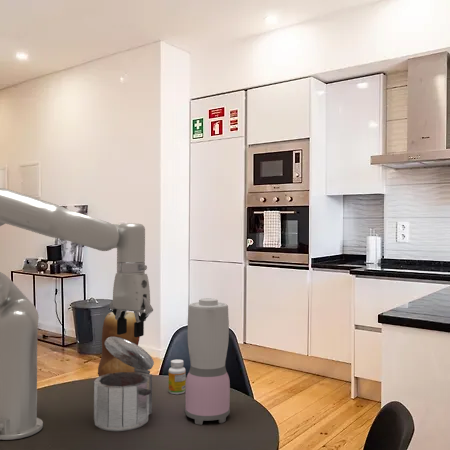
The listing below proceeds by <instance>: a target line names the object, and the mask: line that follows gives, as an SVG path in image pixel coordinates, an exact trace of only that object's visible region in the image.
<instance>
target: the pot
mask: <svg viewBox="0 0 450 450" xmlns="http://www.w3.org/2000/svg"><path fill="white" fill-rule="evenodd" d="M93 383H94V385H93V390H94V391H93V420H94V425H95V427H97V428H98V429H100V430H103V431H107V432H125V431H127V432H128V431H132V430H137V429H139V428H141V427H143V426H145V425H146V424H147V423H148V422H149V416H150V415H151V414H152V413H153V374H152V373H151V374H146V373H141V372H117V373H109V374H106V375H103V376H100V377H99V376H98V377H96V378H95V380H94V381H93Z"/></svg>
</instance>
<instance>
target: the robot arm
mask: <svg viewBox="0 0 450 450" xmlns="http://www.w3.org/2000/svg"><path fill="white" fill-rule="evenodd" d="M3 225H10V226H13V227H16V228H19V229H23V230H25V231H30V232H32V233H35V234H39V235H42V236H45V237H48V238H54V239H60V240H64V241H67V242H71V243H73V244H77V245H81V246H85V247H88V248H91V249H94V250H97V251H101V252H109V251H112V249H116V273H115V274H114V281H113V289H112V300H111V301H110V303H109V304H108V307H109V308H110V310H111V312H113V313H114V315H115V319H116V320H117V334H118V335H120V334H124V333H126V332H127V319H126V318H125V316H126V312H133V313H134V315H135V319H136V322H134V337H140V338H141V337H143V336H144V335H145V327H144V325H145V322H146V320H147V318H148V317H149V316H150V315H151V314H152V313H153V312H154V308H153V307H152V305H151V289H150V282H149V277H148V274H147V273H146V271H147V270H148V267H147V265H146V262H145V261H146V228H145V226H144V225H143V224H141V223H132V222H131V223H130V222H129V223H121V224H115V223H110V222H109V221H105V220H101V219H99V218H95V217H93V216H90V215H86V214H83V213H81V212H78V211H74V210H71V209H68V208H66V207H64V206H62V205H58V204H55V203H53V202H49V201H47V200H43V199H39V198H37V197H34V196H31V195H27V194H24V193H21V192H18V191H15V190H11V189H9V188H4V187H1V188H0V227H1V226H3ZM121 311H122V312H121ZM38 334H39V312H38V310H37V307H36V306H35V305H34V304H33V303H32V301H31V300H30V299H29V298H28V297H27V296H26V295H25V294H24V293H23V291H21V289H20V288H19V287H18V286H17V285H16V284H15V283H14V281H12V279H10V278H9V277H8V276H7V275H6V274H5V273H3V272H1V271H0V440H3V441H4V440H5V441H9V440H19V439H23V438H27V437H30V436H33V435H35V434H37V433H39V432H40V431H42V429H43V427H44V422H43V420H42V419H41V418H39V417H37V415H38V413H37V411H38V404H37V403H38Z"/></svg>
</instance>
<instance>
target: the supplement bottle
mask: <svg viewBox="0 0 450 450" xmlns="http://www.w3.org/2000/svg"><path fill="white" fill-rule="evenodd" d="M170 366H171V367H169V369H168V381H167V382H168V388H167V390H168V393H169V394H171V395H182V394H184V393H186V378H187V375H186V374H187V373H186V368H185V367H184V360H183V359H172V360H170Z"/></svg>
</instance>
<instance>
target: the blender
mask: <svg viewBox="0 0 450 450" xmlns="http://www.w3.org/2000/svg"><path fill="white" fill-rule="evenodd" d="M187 313H188V314H187V347H188V354H189V361H190V368H189V371H188V373H187V375H186V389H185V409H184V411H185V412H184V413H185V415H186V416H187V417H188V418H190V419H193V420H194V423H195V425H200V426H201V425H203V424H204V421H206V422H207V421H217V420H218V423H219V424H224V423H225V422H226V421H227V417H228V416H229V415H230V414H231V413H230V412H231V407H230V399H231V398H230V397H231V395H230V392H231V391H230V390H231V384H230V383H231V382H230V376H229V373H228V372H227V368H226V361H227V354H228V347H229V338H230V337H229V334H230V330H229V329H230V325H229V323H230V320H229V306H228V304H226V303H225V302H219V300H218V299H217V298H199V300H198V301H197V302H192V303H189V305H188V311H187Z"/></svg>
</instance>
